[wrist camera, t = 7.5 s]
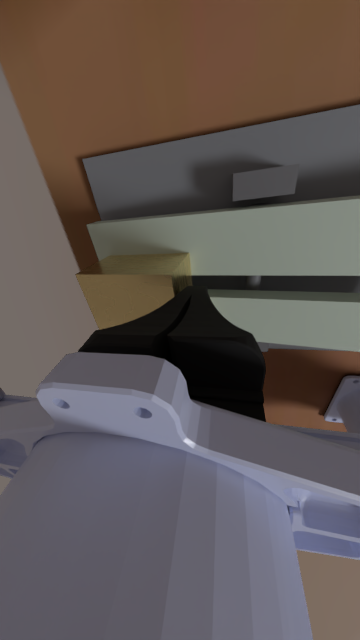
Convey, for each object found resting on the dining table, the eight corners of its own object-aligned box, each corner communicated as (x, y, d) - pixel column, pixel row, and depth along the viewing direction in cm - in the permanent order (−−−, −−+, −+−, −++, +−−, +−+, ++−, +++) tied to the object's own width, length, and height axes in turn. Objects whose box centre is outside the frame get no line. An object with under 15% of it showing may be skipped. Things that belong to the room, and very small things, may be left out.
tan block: (193, 248, 13) (171, 274, 10) (198, 312, 16) (182, 349, 13) (116, 251, 15) (75, 274, 12) (132, 308, 18) (103, 339, 14)
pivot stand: (518, 77, 9) (656, 30, 6) (371, 344, 18) (399, 376, 15) (90, 160, 14) (54, 155, 11) (142, 338, 23) (130, 361, 20)
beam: (538, 174, 8) (613, 174, 7) (422, 335, 13) (447, 360, 12) (105, 218, 15) (86, 224, 14) (134, 314, 20) (122, 328, 18)
